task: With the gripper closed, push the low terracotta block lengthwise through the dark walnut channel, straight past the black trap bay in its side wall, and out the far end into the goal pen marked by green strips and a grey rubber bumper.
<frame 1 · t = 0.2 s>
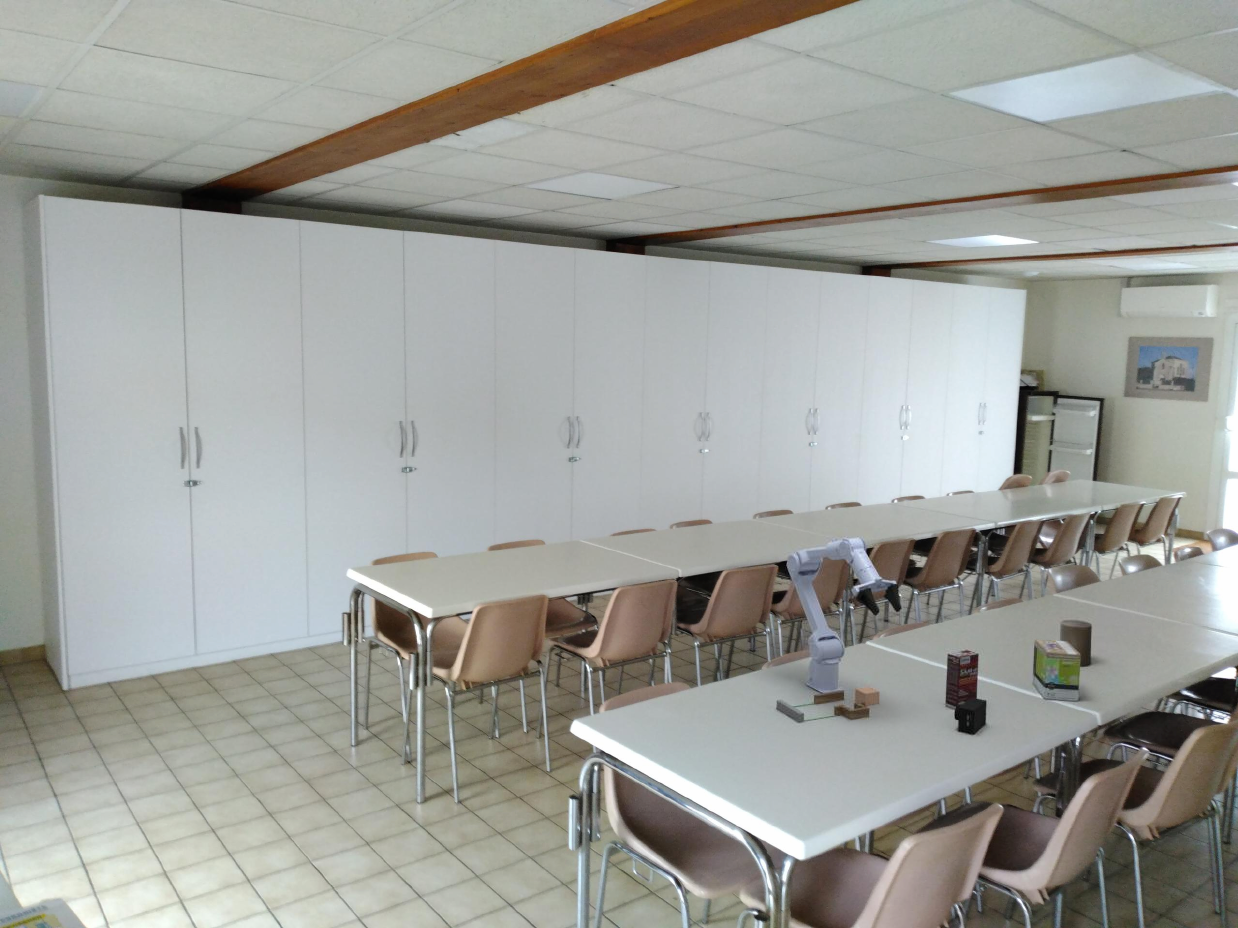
hand: (888, 611, 255), 31 cm above the table, tool tilted 45°, fingers open, 7 cm apart
supplement box: (961, 706, 268), on the table
digital camera: (969, 728, 251), on the table
tea box: (1054, 693, 279), on the table
block: (867, 702, 271), on the table
goal pen: (807, 712, 263), on the table
pillar candle: (1074, 662, 309), on the table
channel: (839, 706, 267), on the table
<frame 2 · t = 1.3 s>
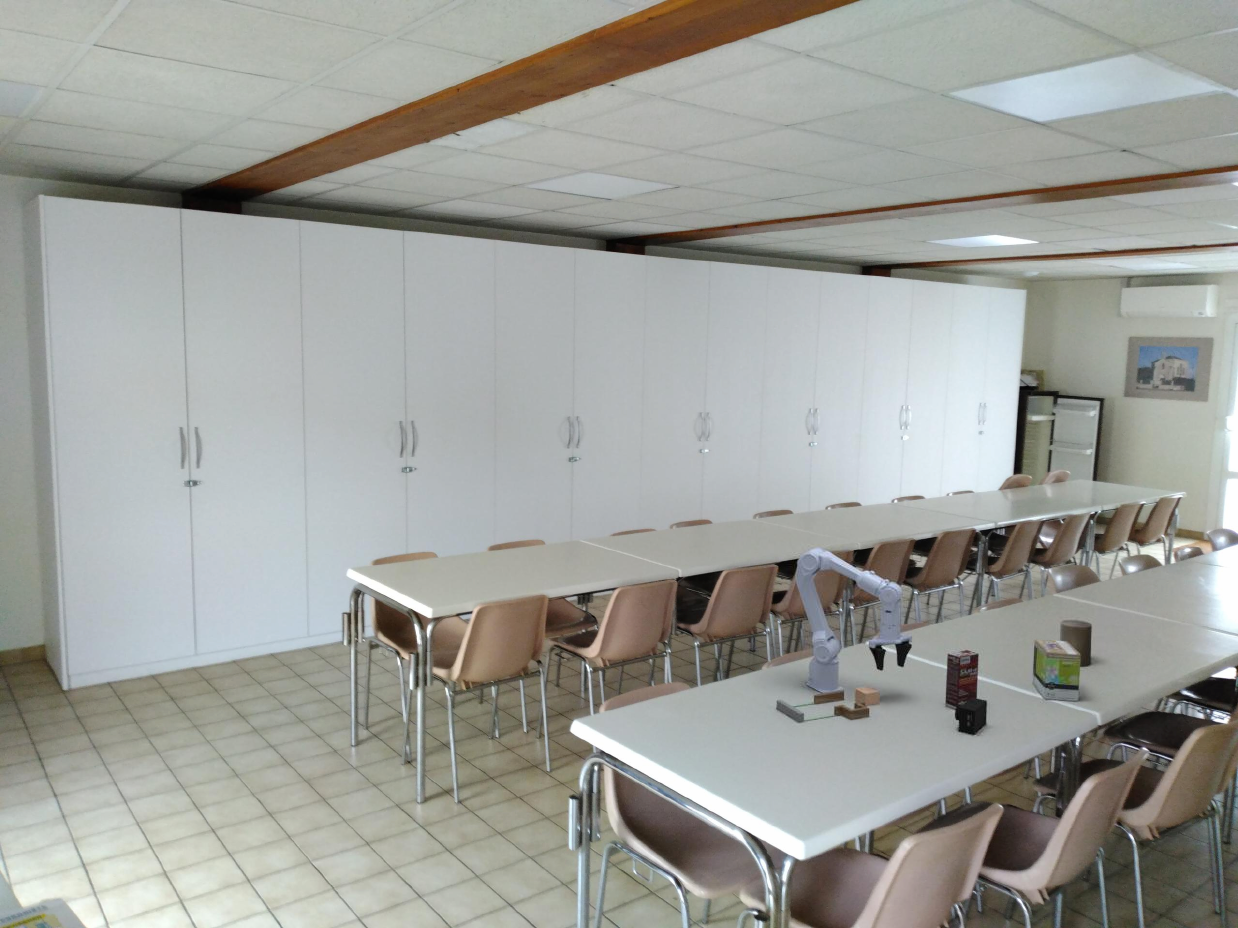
hand: (890, 667, 272), 10 cm above the table, tool pointing down, fingers open, 7 cm apart
nothing on the table moved.
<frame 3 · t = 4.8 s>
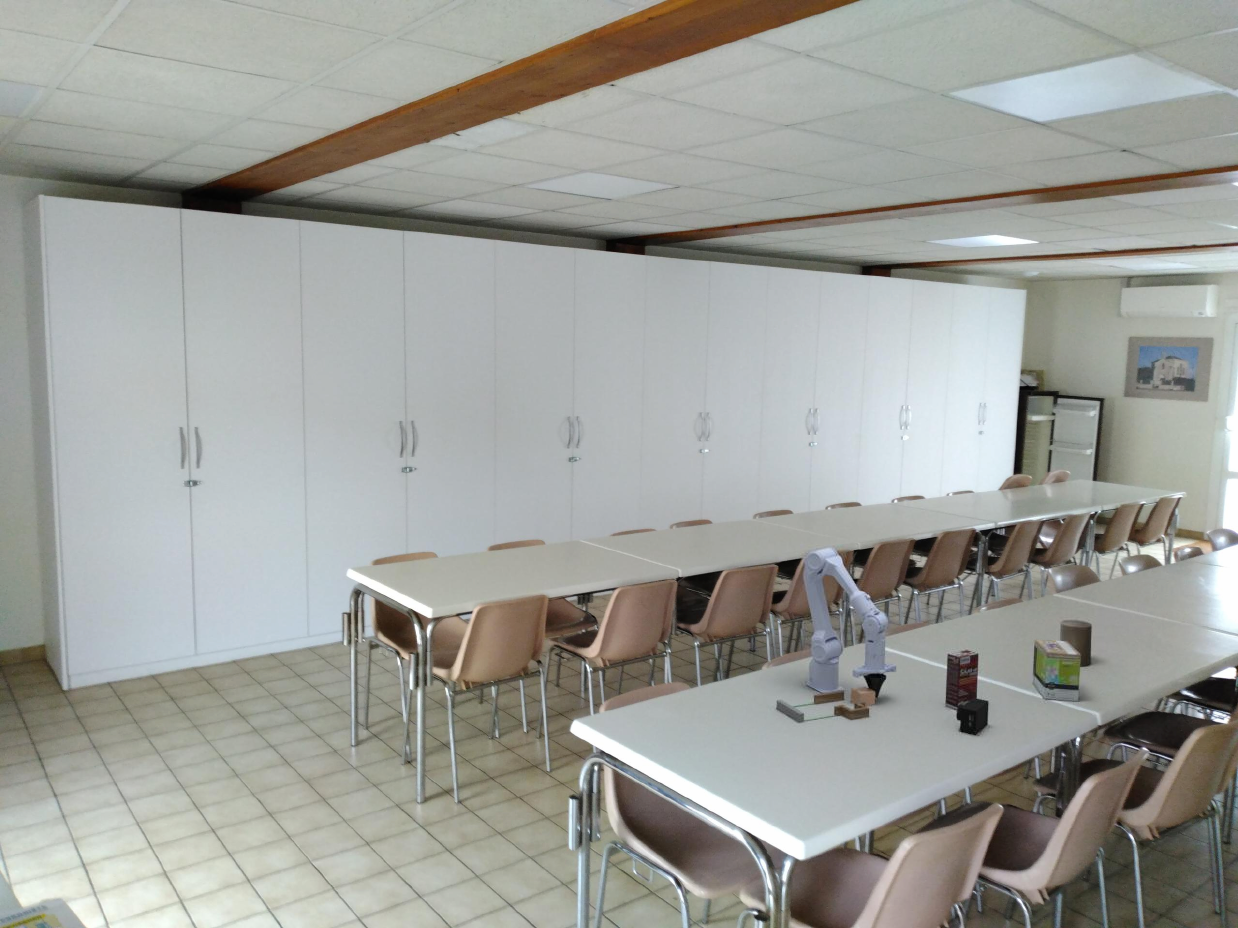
hand: (874, 697, 271), 1 cm above the table, tool pointing down, fingers closed
block: (862, 702, 270), on the table, touching gripper
everything else where it was.
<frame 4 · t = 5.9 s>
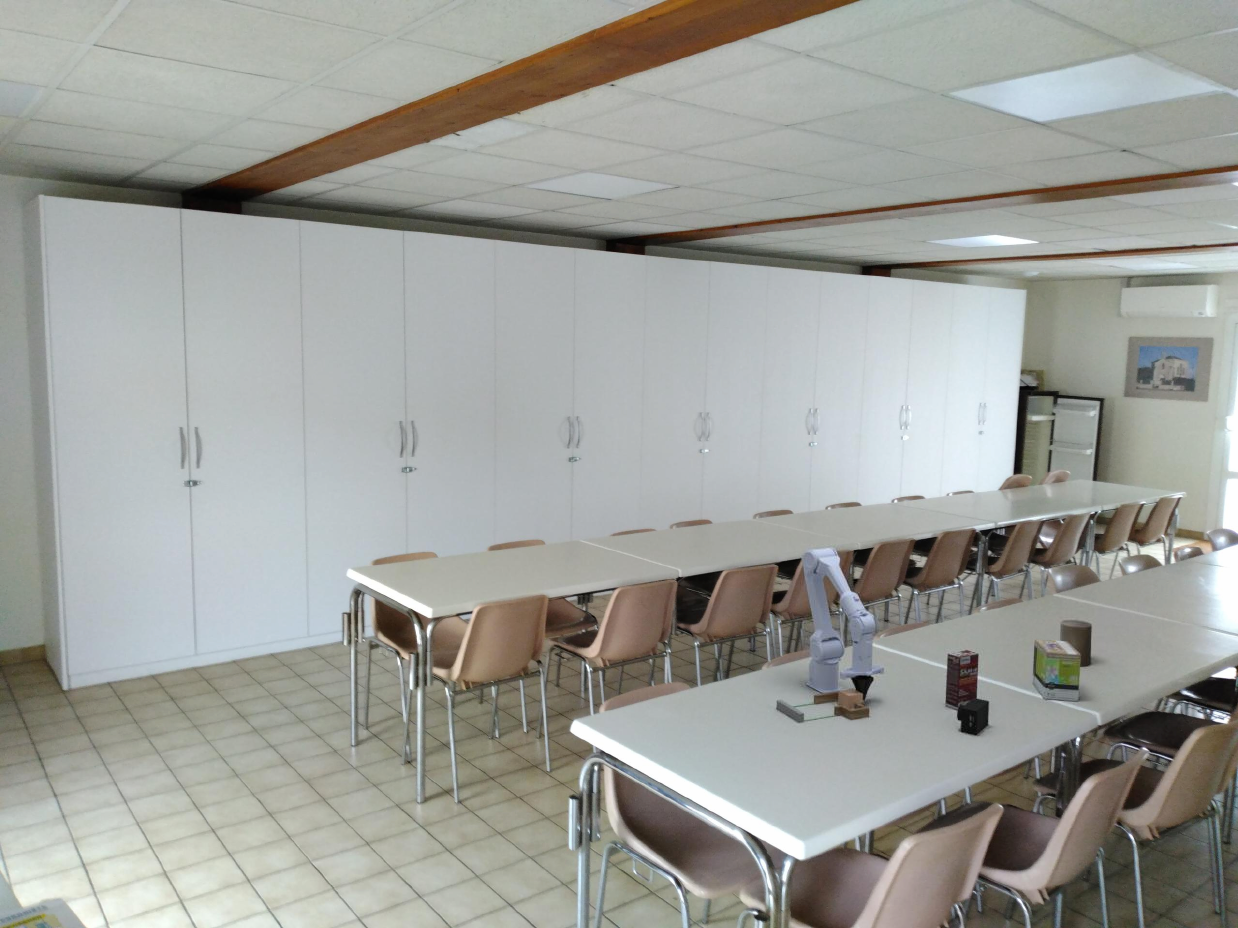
hand: (861, 699, 270), 1 cm above the table, tool pointing down, fingers closed
block: (850, 705, 268), on the table, touching gripper
everything else where it was.
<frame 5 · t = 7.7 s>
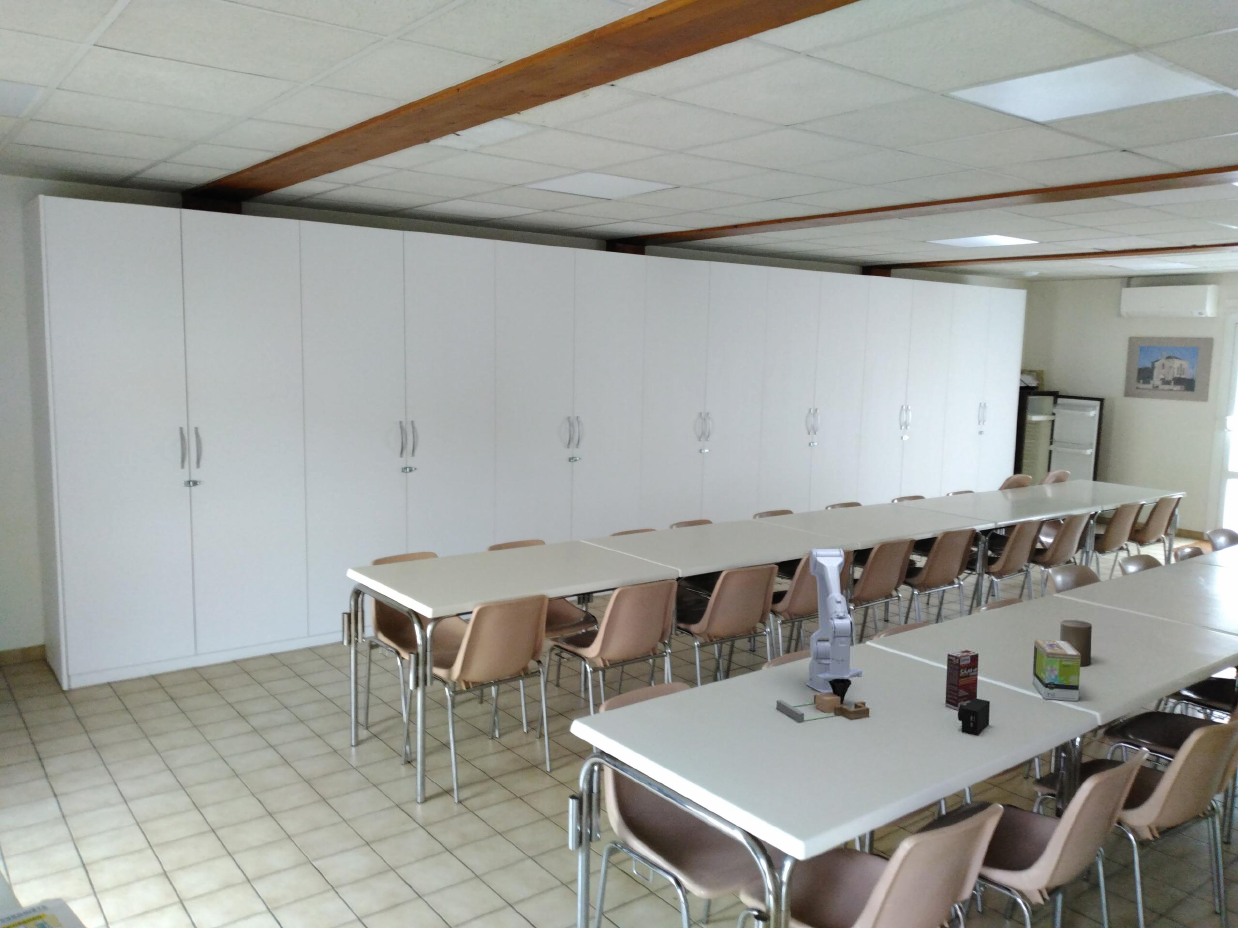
hand: (839, 702, 267), 1 cm above the table, tool pointing down, fingers closed
block: (827, 708, 265), on the table, touching gripper
everything else where it was.
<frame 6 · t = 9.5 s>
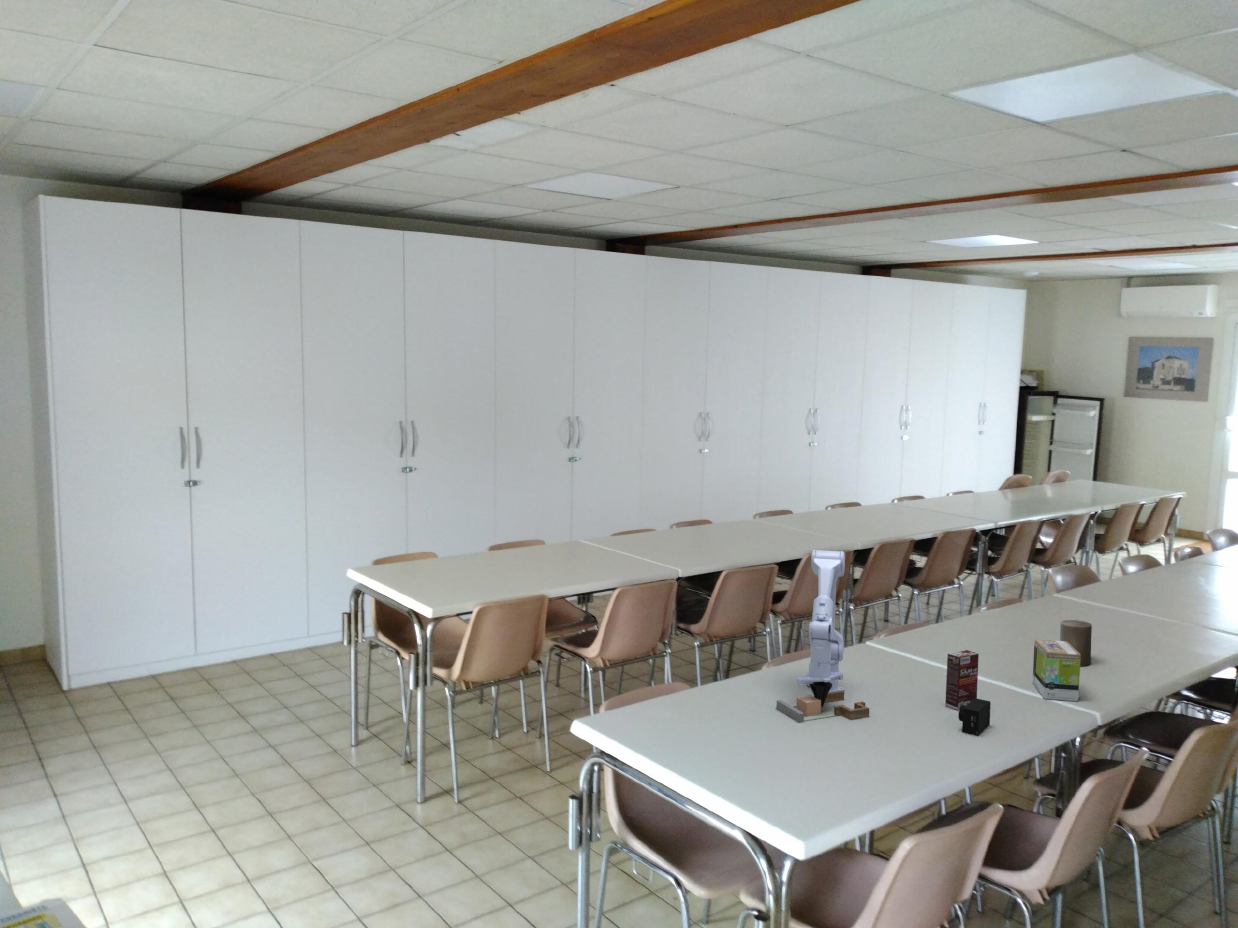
hand: (819, 706, 264), 1 cm above the table, tool pointing down, fingers closed
block: (808, 712, 263), on the table, touching gripper
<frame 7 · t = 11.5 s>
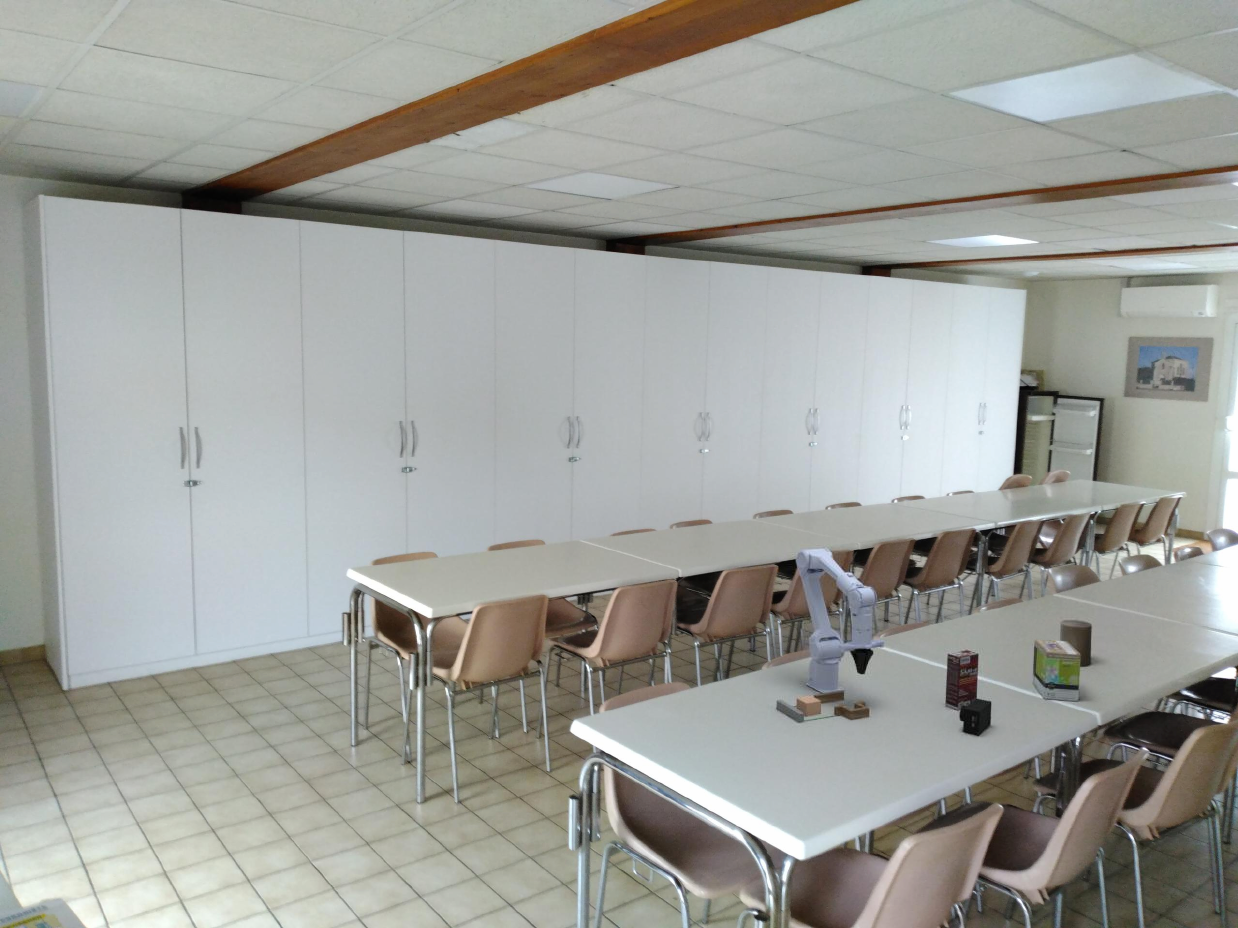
hand: (861, 673, 267), 10 cm above the table, tool pointing down, fingers closed
block: (808, 712, 263), on the table
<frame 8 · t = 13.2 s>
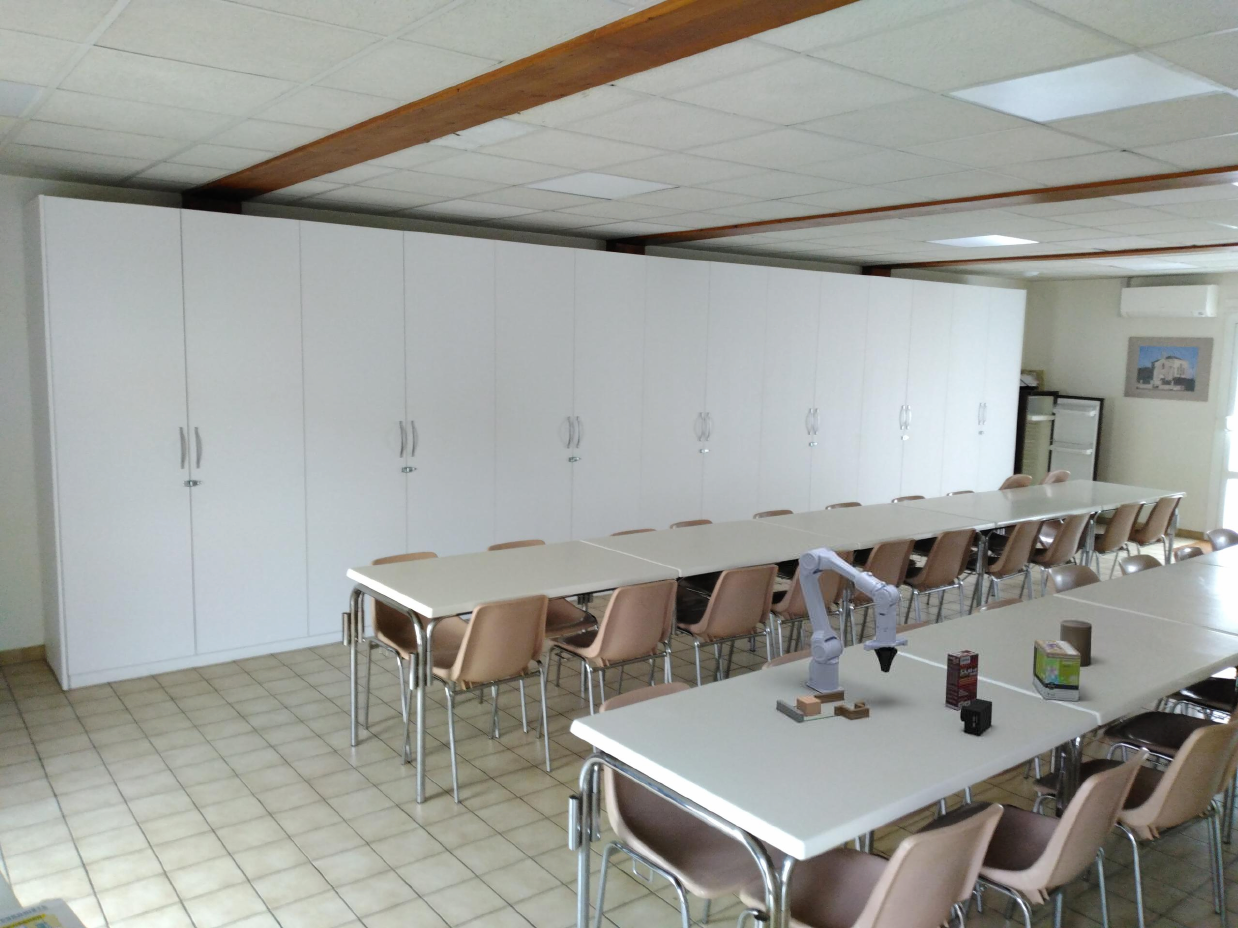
hand: (885, 671, 268), 10 cm above the table, tool pointing down, fingers closed
at the end: block inside the target area (1.5 cm from its centre), on the table; block tilted 0°; block moved 20.8 cm from its start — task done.
